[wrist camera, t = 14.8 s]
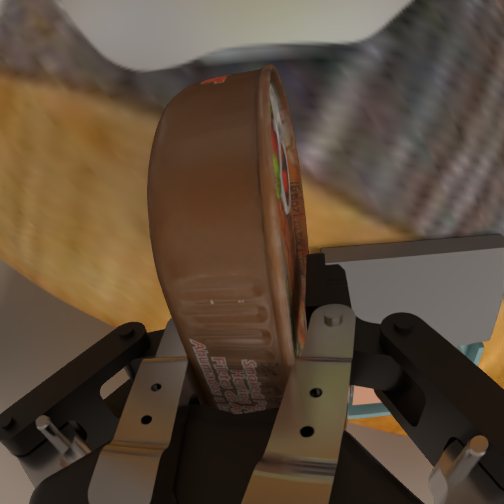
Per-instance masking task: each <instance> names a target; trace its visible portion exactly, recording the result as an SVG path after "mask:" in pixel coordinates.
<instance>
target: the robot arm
mask: <svg viewBox="0 0 504 504" xmlns="http://www.w3.org/2000/svg"><path fill="white" fill-rule="evenodd" d="M305 312H306V324H307V335H306V339H305V343H304V347H303V351H302V354H301V356H296V357H295V364H294V365H292V368H291V372H290V375H289V379H288V382H287V385H286V388H285V392H284V395H283V398H282V401H281V405H280V408H272V409H266V410H261V411H255V412H249V413H243V414H233V413H230V412H226V411H223V410H219V409H216V408H213V407H210V404H209V402H208V400H207V398H206V395H205V393H204V391H203V389H202V386H201V384H200V382H199V380H198V377H197V375H196V372H195V370H194V368H193V365H192V363H191V361H190V358H189V357H187V354H186V352H185V350H184V347H183V345H182V342H181V340H180V337H179V335H178V332H177V329H176V326H175V324H174V321H173V319H172V318H171V319H170V320H169V321H168V323H167V325H166V328H165V329H163V330H159V331H154V332H149V333H147V331H146V329H145V326H144V325H143V324H142V323H139V322H129V323H125V324H123V325H121V326H119V327H117V328H116V329H115V330H113V331H112V332H110V333H109V334H108V335H106V336H105V337H104V338H102V339H101V340H100V341H98V342H97V343H95V344H94V345H93V346H91V347H90V348H89V349H87V350H86V351H84V352H83V353H82V354H80V355H79V356H78V357H76V358H75V359H74V360H72V361H71V362H69V363H68V364H67V365H65V366H64V367H63V368H61V369H60V370H59V371H57V372H56V373H55V374H53V375H52V376H51V377H49V378H48V379H46V380H45V381H44V382H42V383H41V384H40V385H38V386H37V387H36V388H34V389H33V390H32V391H31V392H29V393H28V394H26V395H25V396H24V397H22V398H21V399H20V400H18V401H17V402H16V403H14V404H13V405H12V406H10V407H9V408H8V409H6V410H5V411H4V412H3V413H1V414H0V442H1V443H2V444H3V445H4V446H5V447H6V448H7V449H8V450H9V451H10V453H11V454H12V455H13V456H14V457H15V458H16V459H17V460H19V462H20V463H21V465H22V467H23V469H24V470H25V472H26V474H27V476H28V477H29V479H30V481H31V482H32V484H33V485H34V487H35V490H34V491H33V494H32V496H31V499H30V502H29V504H424V503H423V502H422V501H421V500H420V499H419V498H418V497H416V496H415V495H414V494H413V493H412V492H411V491H410V490H409V489H407V488H406V487H405V486H404V485H403V484H402V483H401V482H400V481H399V480H398V479H397V478H396V477H395V476H394V475H392V474H391V473H390V472H389V471H388V470H387V469H386V468H385V467H384V466H383V465H382V464H381V463H380V462H379V461H378V460H377V459H375V457H373V455H371V454H370V453H369V452H368V451H367V450H366V449H365V448H364V447H363V446H362V445H361V444H360V443H359V442H358V441H357V440H356V439H355V438H354V437H353V436H352V435H351V434H350V433H348V432H347V431H346V430H347V422H348V415H349V407H350V399H351V390H352V385H355V386H360V387H365V388H371V389H374V393H375V394H376V396H377V397H378V398H379V400H380V401H381V402H382V403H383V404H384V406H385V407H386V408H387V409H388V411H389V412H390V413H391V414H392V416H393V417H394V418H395V419H396V421H397V422H398V423H399V424H400V426H401V427H402V428H403V429H404V431H405V432H406V433H407V434H408V436H409V437H410V438H411V439H412V440H413V442H414V443H415V444H416V445H417V447H418V448H419V449H420V450H421V452H422V453H423V454H424V455H425V457H426V458H427V459H428V460H429V462H430V463H431V464H432V465H433V467H434V468H433V469H432V471H431V473H430V476H429V482H428V483H429V488H430V491H431V493H432V495H433V497H434V503H435V504H504V389H503V388H501V387H500V386H499V385H498V384H497V383H496V382H495V381H494V380H493V379H491V378H490V377H489V376H488V375H487V374H486V373H485V372H483V371H482V370H481V369H480V368H479V367H478V366H477V365H475V364H474V363H473V362H472V361H471V360H470V359H469V358H467V357H466V356H465V355H464V354H463V353H462V352H460V351H459V350H458V349H457V348H456V347H455V346H453V345H452V344H451V343H450V342H449V341H447V340H446V339H445V338H444V337H443V336H441V335H440V334H439V333H438V332H437V331H435V330H434V329H433V328H432V327H431V326H429V325H428V324H427V323H426V322H425V321H423V320H422V319H421V318H420V317H418V316H416V315H414V314H411V313H406V312H398V313H393V314H390V315H388V316H387V317H385V318H384V319H383V320H382V322H381V324H378V323H371V322H367V321H364V320H361V319H360V318H358V317H357V316H356V315H355V312H354V311H353V310H352V306H351V300H350V295H349V289H348V283H347V278H346V272H345V270H344V269H343V268H342V267H341V266H340V265H339V264H332V265H326V264H325V254H324V253H315V254H306V291H305ZM122 368H124V369H125V371H126V373H127V374H128V376H129V378H130V379H129V380H127V381H126V382H125V383H124V384H123V385H121V386H120V387H119V388H118V389H117V390H115V391H114V392H113V393H112V394H110V395H109V396H108V397H107V398H106V399H104V400H103V399H102V397H101V396H100V388H101V386H102V385H103V384H104V383H105V382H106V381H107V380H109V379H110V378H111V377H112V376H114V375H115V374H116V373H117V372H119V371H120V370H121V369H122Z"/></svg>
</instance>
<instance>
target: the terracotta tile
mask: <svg viewBox="0 0 504 504" xmlns="http://www.w3.org/2000/svg"><path fill="white" fill-rule="evenodd" d="M351 394H352V405H361V404H372V403H381V401H380V400H379V398H378V397H377V396H376V394H375V393H374V389H371V388H365V387H360V386H355V385H352V390H351Z"/></svg>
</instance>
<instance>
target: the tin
mask: <svg viewBox="0 0 504 504" xmlns="http://www.w3.org/2000/svg"><path fill="white" fill-rule="evenodd" d="M147 199H148V216H149V229H150V238H151V244H152V250H153V256H154V262H155V266H156V270H157V275H158V279H159V282H160V285H161V288H162V291H163V294H164V297H165V300H166V302H167V305H168V308H169V311H170V314H171V316H172V319H173V321H174V324H175V326H176V329H177V332H178V335H179V337H180V340H181V342H182V345H183V347H184V350H185V352H186V354H187V357H189V358H190V361H191V363H192V365H193V368H194V370H195V372H196V375H197V377H198V380H199V382H200V384H201V386H202V389H203V391H204V393H205V395H206V398H207V400H208V402H209V404H210V407H213V408H216V409H219V410H223V411H226V412H230V413H233V414H243V413H249V412H255V411H261V410H266V409H272V408H280V405H281V401H282V398H283V395H284V392H285V388H286V385H287V382H288V379H289V375H290V372H291V368H292V365H294V364H295V357H296V356H301V354H302V351H303V347H304V343H305V339H306V335H307V324H306V312H305V291H306V254H309V248H308V237H307V227H306V217H305V208H304V199H303V191H302V183H301V175H300V167H299V160H298V155H297V149H296V142H295V136H294V130H293V125H292V120H291V115H290V110H289V107H288V103H287V98H286V95H285V92H284V88H283V85H282V82H281V80H280V77H279V74H278V72H277V69H276V67H275V66H274V65H272V64H269V65H266V66H264V67H263V68H262V69H260V70H255V71H249V72H244V73H238V74H233V75H227V76H222V77H217V78H212V79H208V80H205V81H201V82H197V83H195V84H192V85H190V86H189V87H187V88H185V89H184V90H182V91H181V92H180V93H178V94H177V95H176V96H175V97H174V98H173V99H172V100H171V102H170V103H169V104H168V105H167V107H166V108H165V110H164V112H163V114H162V116H161V119H160V121H159V124H158V126H157V129H156V132H155V136H154V141H153V145H152V150H151V156H150V162H149V171H148V185H147Z"/></svg>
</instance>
